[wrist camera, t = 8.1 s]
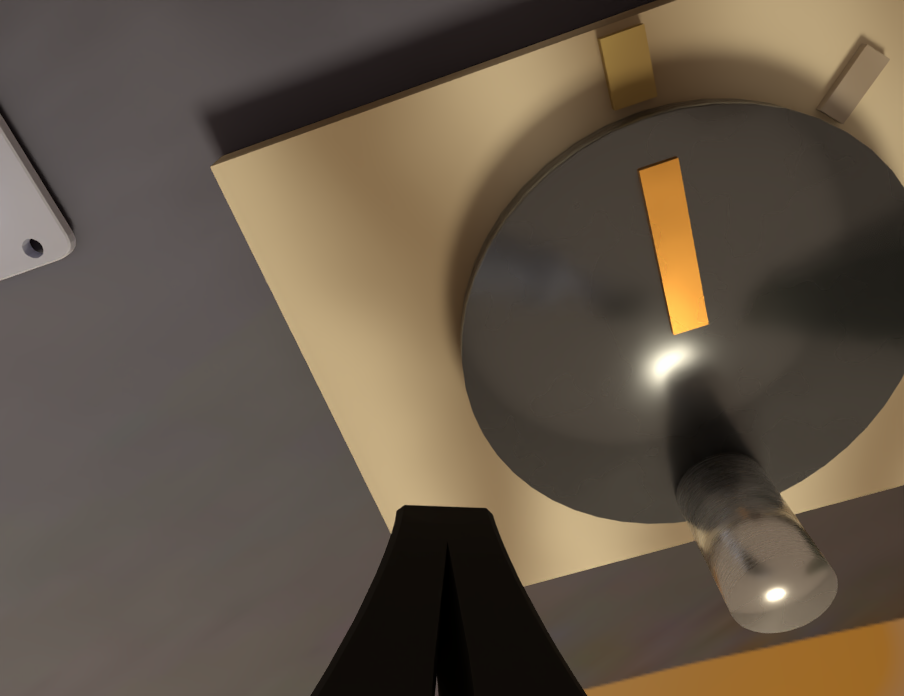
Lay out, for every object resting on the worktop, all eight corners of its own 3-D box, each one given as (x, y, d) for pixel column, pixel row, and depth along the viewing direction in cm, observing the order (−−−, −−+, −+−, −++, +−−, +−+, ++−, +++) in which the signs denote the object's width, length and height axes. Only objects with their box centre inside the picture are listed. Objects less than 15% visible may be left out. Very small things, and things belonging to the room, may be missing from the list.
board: (429, 584, 25) (429, 618, 24) (222, 155, 18) (206, 169, 17) (1010, 427, 23) (1047, 454, 21) (1042, -139, 16) (1100, -150, 14)
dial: (913, 447, 21) (1039, 567, 17) (530, 552, 23) (556, 689, 18) (899, 20, 16) (1083, 36, 11) (394, 196, 17) (385, 269, 13)
